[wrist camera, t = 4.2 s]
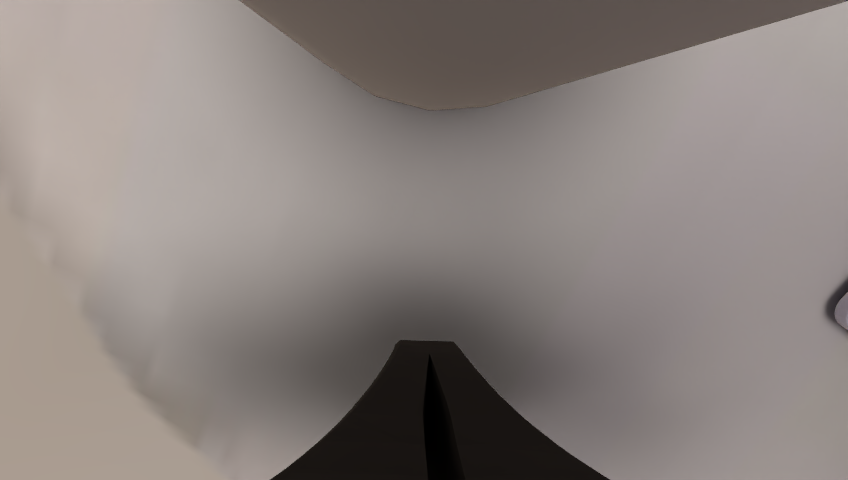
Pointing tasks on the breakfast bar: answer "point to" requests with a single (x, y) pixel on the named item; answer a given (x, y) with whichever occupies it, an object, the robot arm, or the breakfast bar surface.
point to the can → (503, 40)
